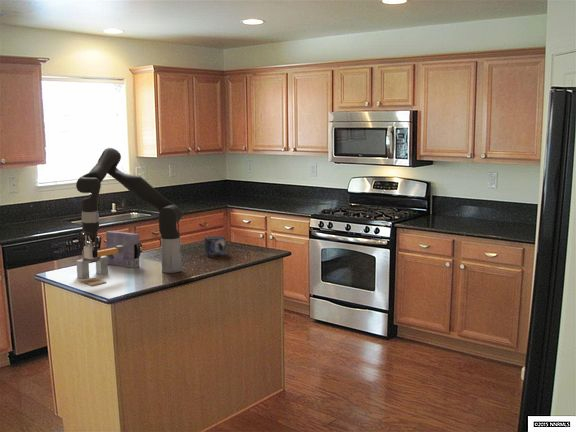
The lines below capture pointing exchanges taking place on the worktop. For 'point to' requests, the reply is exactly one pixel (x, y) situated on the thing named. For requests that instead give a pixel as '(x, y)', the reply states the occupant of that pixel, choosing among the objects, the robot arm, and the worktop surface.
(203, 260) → the worktop surface
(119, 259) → the cake pan box
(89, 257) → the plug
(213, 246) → the small box
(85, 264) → the housing
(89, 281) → the trivet
